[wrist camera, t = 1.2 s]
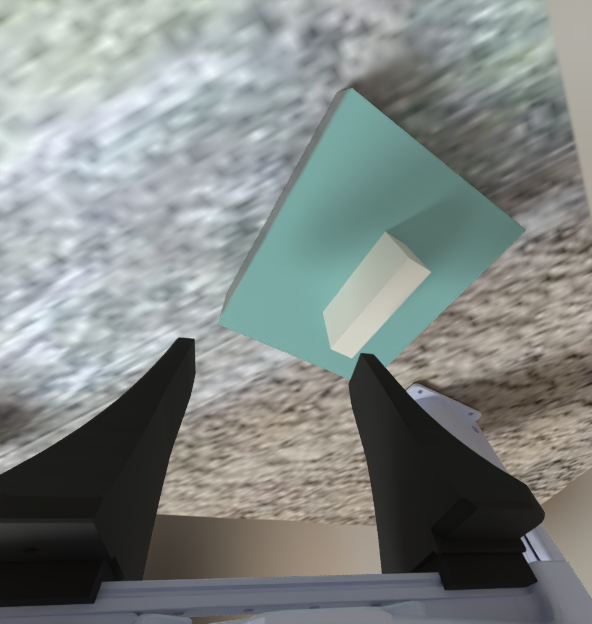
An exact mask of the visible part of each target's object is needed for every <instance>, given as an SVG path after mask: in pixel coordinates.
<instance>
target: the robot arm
mask: <svg viewBox="0 0 592 624" xmlns="http://www.w3.org/2000/svg"><path fill="white" fill-rule="evenodd" d="M195 374H196V371H195V339H191V338H178V339H176V341H175V342H174V343H173V344H172V346H171V347H170V348H169V349H168V350H167V351H166V353H165V354H164V355H163V356H162V357H161V358H160V359H159V360H158V361H157V362H156V364H155V365H154V366H153V367H152V368H151V369H150V370H149V371H148V372H147V373H146V374H145V375H144V376H143V377H142V378H141V379H140V380H139V381H138V382H136V383H135V384H134V385H133V386H132V387H131V388H130V389H129V390H128V391H127V392H126V393H124V394H123V395H122V396H121V397H120V398H119V399H117V400H116V401H115V402H114V403H112V404H111V405H110V406H109V407H107V408H106V409H105V410H104V411H102V412H101V413H99V414H98V415H97V416H95V417H94V418H93V419H91V420H90V421H89V422H87V423H86V424H84V425H83V426H82V427H80V428H79V429H77V430H76V431H74V432H73V433H71V434H69V435H68V436H66V437H65V438H63V439H62V440H60V441H58V442H57V443H55V444H54V445H52V446H51V447H49V448H47V449H46V450H44V451H42V452H41V453H39V454H37V455H35V456H33V457H32V458H30V459H28V460H26V461H24V462H23V463H21V464H19V465H17V466H15V467H13V468H12V469H10V470H8V471H6V472H4V473H2V474H0V624H192V621H191V619H190V618H186V617H200V616H222V615H242V614H258V615H255V616H252V617H251V618H248V619H240V620H232V621H225V622H217V623H210V624H592V598H591V597H590V595H589V594H588V592H587V591H586V589H585V588H584V586H583V585H582V583H581V581H580V580H579V578H578V577H577V575H576V573H575V572H574V570H573V569H572V567H571V566H570V564H569V563H568V562H567V561H566V559H565V558H564V556H563V555H562V553H561V551H560V550H559V548H558V547H557V545H556V544H555V542H554V541H553V539H552V538H551V536H550V535H549V533H548V531H547V530H546V528H545V527H544V526H543V524H542V521H543V520H544V517H545V512H544V510H543V509H542V508H541V506H540V504H539V503H538V501H537V500H536V498H535V497H534V495H533V494H532V492H531V491H530V489H529V488H528V486H527V485H526V484H524V483H523V482H521V481H519V480H518V479H516V478H514V477H513V476H511V475H509V474H508V472H507V470H506V469H505V467H504V466H503V464H502V462H501V461H500V459H499V458H498V456H497V455H496V453H495V451H494V450H493V448H492V447H491V445H490V444H489V442H488V440H487V439H486V437H485V436H484V434H483V432H482V431H481V429H480V428H479V426H478V425H477V423H476V421H477V420H478V419H480V418H481V416H482V414H481V413H480V412H479V411H477V410H475V409H473V408H471V407H469V406H466V405H464V404H462V403H460V402H458V401H455V400H453V399H451V398H449V397H447V396H445V395H442V394H440V393H438V392H436V391H434V390H432V389H429V388H427V387H425V386H423V385H421V384H413V385H412V386H411V387H409V388H408V389H407V390H406V391H405V389H404V388H403V387H402V386H401V385H400V384H399V383H398V382H397V381H396V379H395V378H394V377H393V376H392V375H391V374H390V372H389V371H388V370H387V369H386V368H385V367H384V365H383V364H382V363H381V362H380V361H379V359H378V358H377V357H376V356H375V355H374V354H368V353H360V356H359V358H358V361H357V364H356V366H355V369H354V371H353V374H352V377H351V379H350V382H349V391H350V399H351V405H352V409H353V413H354V416H355V420H356V424H357V427H358V431H359V434H360V438H361V441H362V445H363V448H364V452H365V456H366V460H367V465H368V471H369V476H370V482H371V488H372V495H373V501H374V508H375V515H376V523H377V531H378V539H379V548H380V559H381V568H382V574H366V575H332V576H331V575H330V576H329V575H328V576H293V577H259V578H223V579H222V578H221V579H189V580H187V579H185V580H150V581H142V579H143V574H144V569H145V565H146V560H147V555H148V550H149V545H150V540H151V535H152V531H153V527H154V522H155V517H156V513H157V509H158V504H159V500H160V496H161V491H162V487H163V483H164V479H165V475H166V471H167V467H168V463H169V459H170V455H171V452H172V448H173V445H174V442H175V440H176V437H177V434H178V431H179V428H180V425H181V422H182V420H183V417H184V414H185V411H186V408H187V405H188V402H189V399H190V396H191V392H192V388H193V383H194V379H195Z"/></svg>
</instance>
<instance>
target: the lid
mask: <svg viewBox="0 0 592 624" xmlns="http://www.w3.org/2000/svg"><path fill="white" fill-rule="evenodd" d="M524 231H525V229H524V228H523V227H522V226H520V225H519V224H518V223H517V222H516V221H514V220H513V219H512V218H511V217H509V216H508V215H507V214H506V213H505V212H503V211H502V210H501V209H500V208H498V207H497V206H496V205H495V204H494V203H492V202H491V201H490V200H489V199H487V198H486V197H485V196H484V195H482V194H481V193H480V192H479V191H478V190H476V189H475V188H474V187H473V186H471V185H470V184H469V183H468V182H467V181H465V180H464V179H463V178H462V177H460V176H459V175H458V174H457V173H456V172H454V171H453V170H452V169H451V168H449V167H448V166H447V165H446V164H444V163H443V162H442V161H441V160H440V159H438V158H437V157H436V156H435V155H433V154H432V153H431V152H430V151H429V150H427V149H426V148H425V147H424V146H422V145H421V144H420V143H419V142H418V141H416V140H415V139H414V138H413V137H411V136H410V135H409V134H408V133H407V132H405V131H404V130H403V129H402V128H400V127H399V126H398V125H397V124H395V123H394V122H393V121H392V120H391V119H389V118H388V117H387V116H386V115H384V114H383V113H382V112H381V111H380V110H378V109H377V108H376V107H375V106H373V105H372V104H371V103H370V102H369V101H367V100H366V99H365V98H364V97H362V96H361V95H360V94H359V93H358V92H356V91H355V90H354V89H353V88H349V89H348V90H347V92H346V93H345V95H344V97H343V99H342V100H341V102H340V104H339V106H338V108H337V109H336V111H335V113H334V115H333V116H332V118H331V120H330V122H329V124H328V125H327V127H326V129H325V131H324V133H323V134H322V136H321V138H320V140H319V141H318V143H317V145H316V147H315V149H314V150H313V152H312V154H311V156H310V157H309V159H308V161H307V163H306V165H305V166H304V168H303V170H302V172H301V173H300V175H299V177H298V179H297V181H296V182H295V184H294V186H293V188H292V190H291V191H290V193H289V195H288V197H287V198H286V200H285V202H284V204H283V206H282V207H281V209H280V211H279V213H278V214H277V216H276V218H275V220H274V222H273V223H272V225H271V227H270V229H269V230H268V232H267V234H266V236H265V238H264V239H263V241H262V243H261V245H260V246H259V248H258V250H257V252H256V254H255V255H254V257H253V259H252V261H251V263H250V264H249V266H248V268H247V270H246V271H245V273H244V275H243V277H242V279H241V280H240V282H239V284H238V286H237V287H236V289H235V291H234V293H233V295H232V296H231V298H230V300H229V302H228V303H227V305H226V307H225V309H224V311H223V312H222V314H221V316H220V319H219V322H218V324H219V325H222V326H224V327H226V328H229V329H231V330H234V331H236V332H238V333H241V334H243V335H245V336H248V337H250V338H253V339H255V340H257V341H260V342H262V343H264V344H267V345H269V346H271V347H274V348H276V349H279V350H281V351H283V352H286V353H288V354H290V355H293V356H295V357H298V358H300V359H302V360H305V361H307V362H309V363H312V364H314V365H317V366H319V367H321V368H324V369H326V370H328V371H331V372H333V373H335V374H338V375H340V376H343V377H345V378H347V379H351V377H352V374H353V371H354V369H355V366H356V364H357V361H358V358H359V356H360V353H368V354H374V355H375V356H376V357H377V358H378V359H379V361H380V362H381V363H382V364H383V365H384V367H385V368H386V367H387V366H388V365H389V364H390V363H391V362H392V361H393V360H394V359H395V358H396V357H397V356H398V355H399V354H400V353H401V352H402V351H403V350H404V349H405V348H406V347H407V346H408V345H409V344H410V343H411V342H412V341H413V340H414V339H415V338H416V337H417V336H418V335H419V334H420V333H421V332H422V331H423V330H424V329H425V328H426V327H427V326H428V325H429V324H431V323H432V322H433V321H434V320H435V319H436V318H437V317H438V316H439V315H440V314H441V313H442V312H443V311H444V310H445V309H446V308H447V307H448V306H449V305H450V304H451V303H452V302H453V301H454V300H455V299H456V298H457V297H458V296H459V295H460V294H461V293H462V292H463V291H464V290H465V289H466V288H467V287H468V286H469V285H470V284H471V283H472V282H473V281H474V280H475V279H476V278H477V277H479V276H480V275H481V274H482V273H483V272H484V271H485V270H486V269H487V268H488V267H489V266H490V265H491V264H492V263H493V262H494V261H495V260H496V259H497V258H498V257H499V256H500V255H501V254H502V253H503V252H504V251H505V250H506V249H507V248H508V247H509V246H510V245H511V244H512V243H513V242H514V241H515V240H516V239H517V238H518V237H519V236H520V235H521V234H522V233H523V232H524Z"/></svg>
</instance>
